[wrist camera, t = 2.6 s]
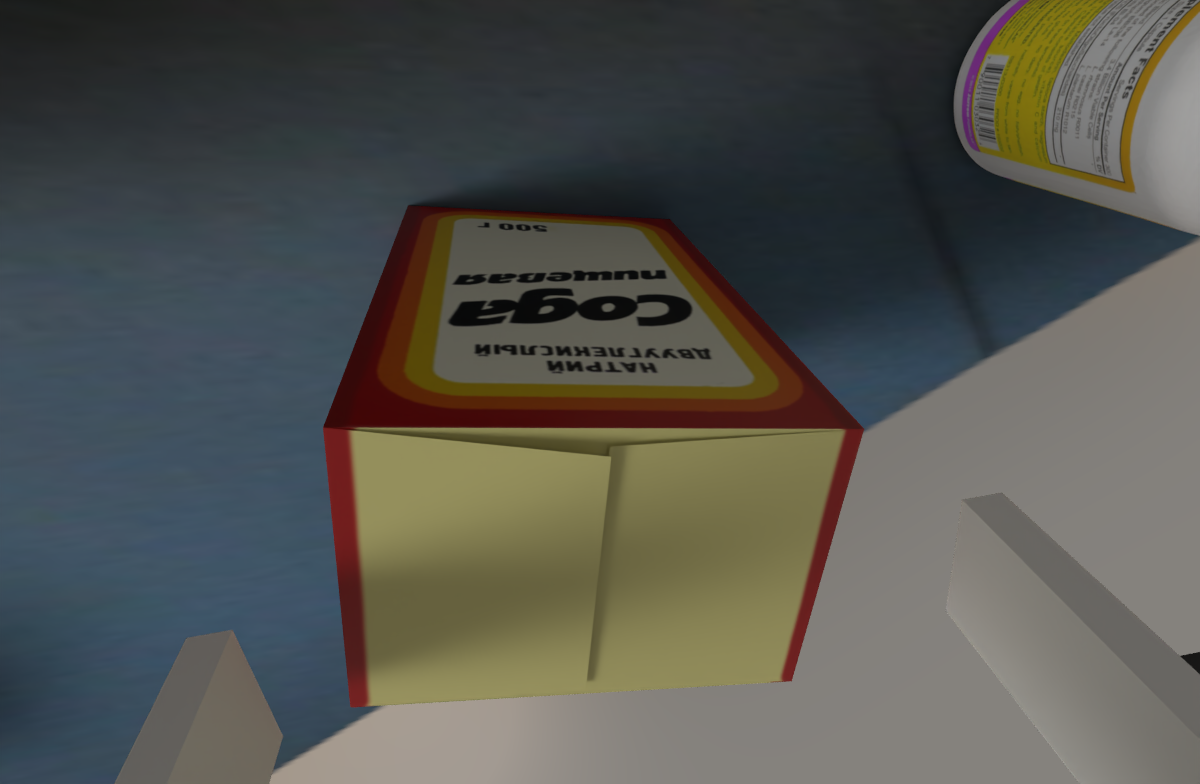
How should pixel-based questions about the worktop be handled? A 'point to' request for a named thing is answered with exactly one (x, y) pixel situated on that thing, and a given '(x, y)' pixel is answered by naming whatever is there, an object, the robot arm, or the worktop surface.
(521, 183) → the worktop surface
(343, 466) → the baking soda box
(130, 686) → the worktop surface
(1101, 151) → the supplement bottle
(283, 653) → the worktop surface
